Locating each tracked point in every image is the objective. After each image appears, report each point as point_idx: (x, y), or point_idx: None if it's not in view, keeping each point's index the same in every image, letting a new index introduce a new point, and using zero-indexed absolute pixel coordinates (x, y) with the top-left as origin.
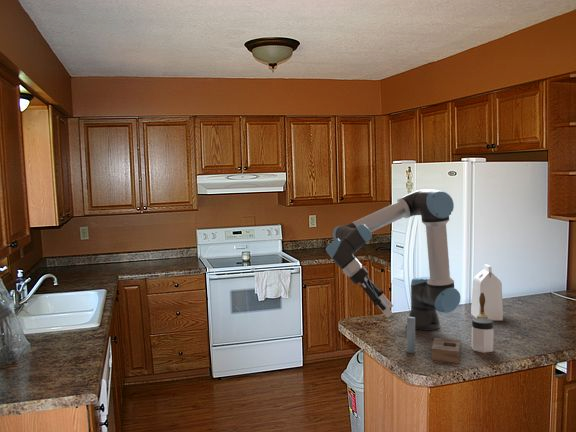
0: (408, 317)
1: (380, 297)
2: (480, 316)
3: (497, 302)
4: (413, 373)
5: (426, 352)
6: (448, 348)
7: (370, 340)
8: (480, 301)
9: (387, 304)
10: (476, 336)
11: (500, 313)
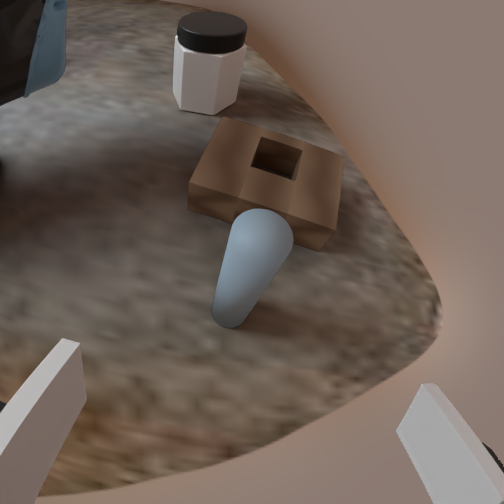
0: (255, 253)
1: (14, 502)
2: None
3: None
4: (435, 332)
5: None
6: (323, 175)
7: (74, 464)
8: None
9: (63, 407)
10: (227, 74)
11: None
